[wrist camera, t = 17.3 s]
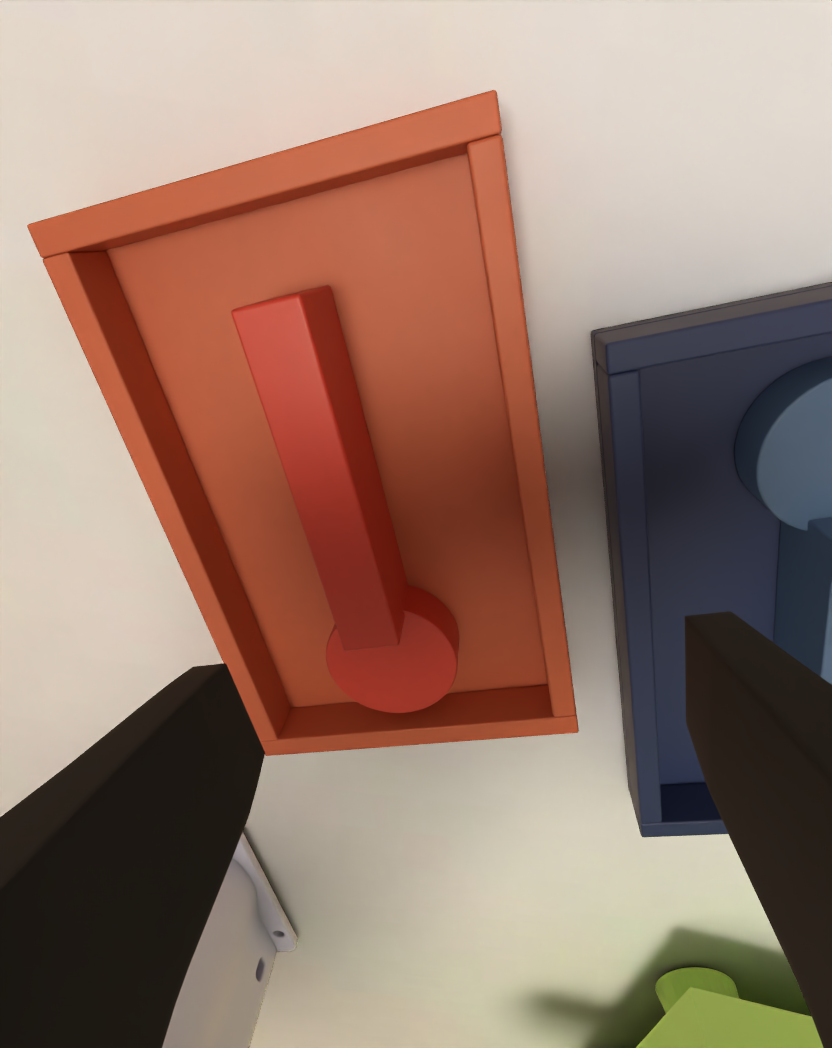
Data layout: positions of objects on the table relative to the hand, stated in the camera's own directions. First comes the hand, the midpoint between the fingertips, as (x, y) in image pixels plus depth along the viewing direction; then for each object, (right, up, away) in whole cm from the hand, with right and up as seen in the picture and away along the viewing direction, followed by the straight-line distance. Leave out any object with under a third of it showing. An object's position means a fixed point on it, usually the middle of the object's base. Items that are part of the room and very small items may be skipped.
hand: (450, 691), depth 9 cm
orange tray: (-2, +4, +8) cm, 9 cm away
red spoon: (-2, +3, +8) cm, 8 cm away
